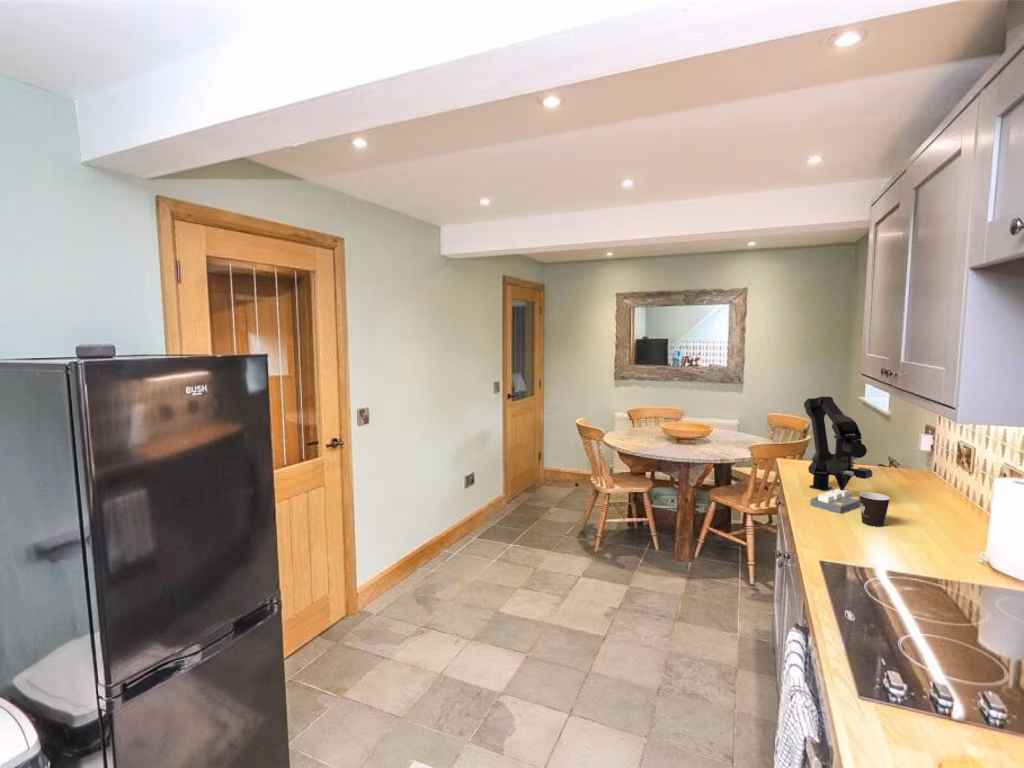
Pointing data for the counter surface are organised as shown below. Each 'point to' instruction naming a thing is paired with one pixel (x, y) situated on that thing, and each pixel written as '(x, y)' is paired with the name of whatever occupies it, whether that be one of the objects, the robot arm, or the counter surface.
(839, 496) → the middle key
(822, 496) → the key
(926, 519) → the counter surface
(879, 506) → the coffee mug
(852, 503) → the keyguard plate
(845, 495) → the key
